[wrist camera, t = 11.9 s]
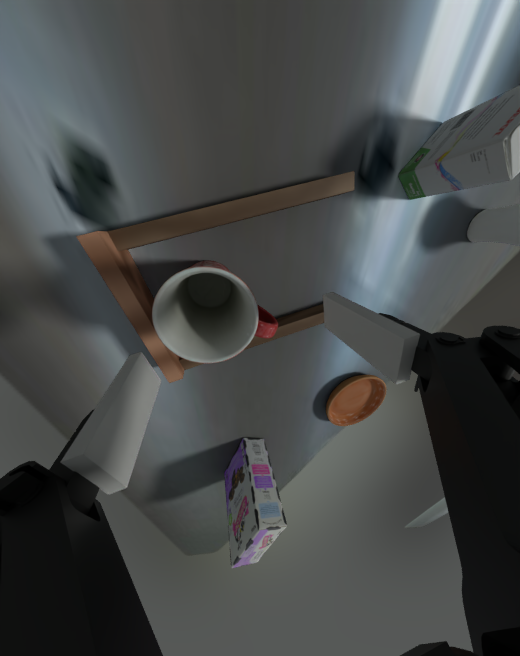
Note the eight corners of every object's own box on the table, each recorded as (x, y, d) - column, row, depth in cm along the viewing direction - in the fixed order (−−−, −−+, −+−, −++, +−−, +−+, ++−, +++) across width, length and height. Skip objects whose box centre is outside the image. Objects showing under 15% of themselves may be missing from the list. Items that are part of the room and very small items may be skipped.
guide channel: (101, 236, 23) (75, 236, 18) (339, 177, 26) (366, 165, 22) (174, 363, 32) (169, 383, 28) (342, 307, 36) (361, 317, 31)
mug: (168, 302, 28) (138, 350, 16) (187, 241, 25) (169, 245, 13) (245, 328, 33) (266, 380, 21) (268, 279, 30) (307, 307, 18)
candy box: (242, 436, 45) (259, 531, 30) (264, 437, 47) (289, 526, 32) (223, 472, 49) (229, 571, 34) (244, 472, 51) (258, 564, 37)
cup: (493, 239, 38) (579, 240, 29) (454, 256, 37) (530, 262, 28) (508, 187, 33) (614, 169, 25) (464, 205, 33) (557, 193, 24)
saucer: (331, 425, 52) (338, 435, 50) (312, 393, 44) (319, 403, 42) (381, 395, 52) (390, 404, 49) (371, 357, 44) (381, 365, 42)
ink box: (408, 201, 30) (513, 183, 20) (396, 174, 28) (506, 137, 18) (452, 153, 29) (590, 105, 18) (443, 120, 26) (594, 44, 16)
